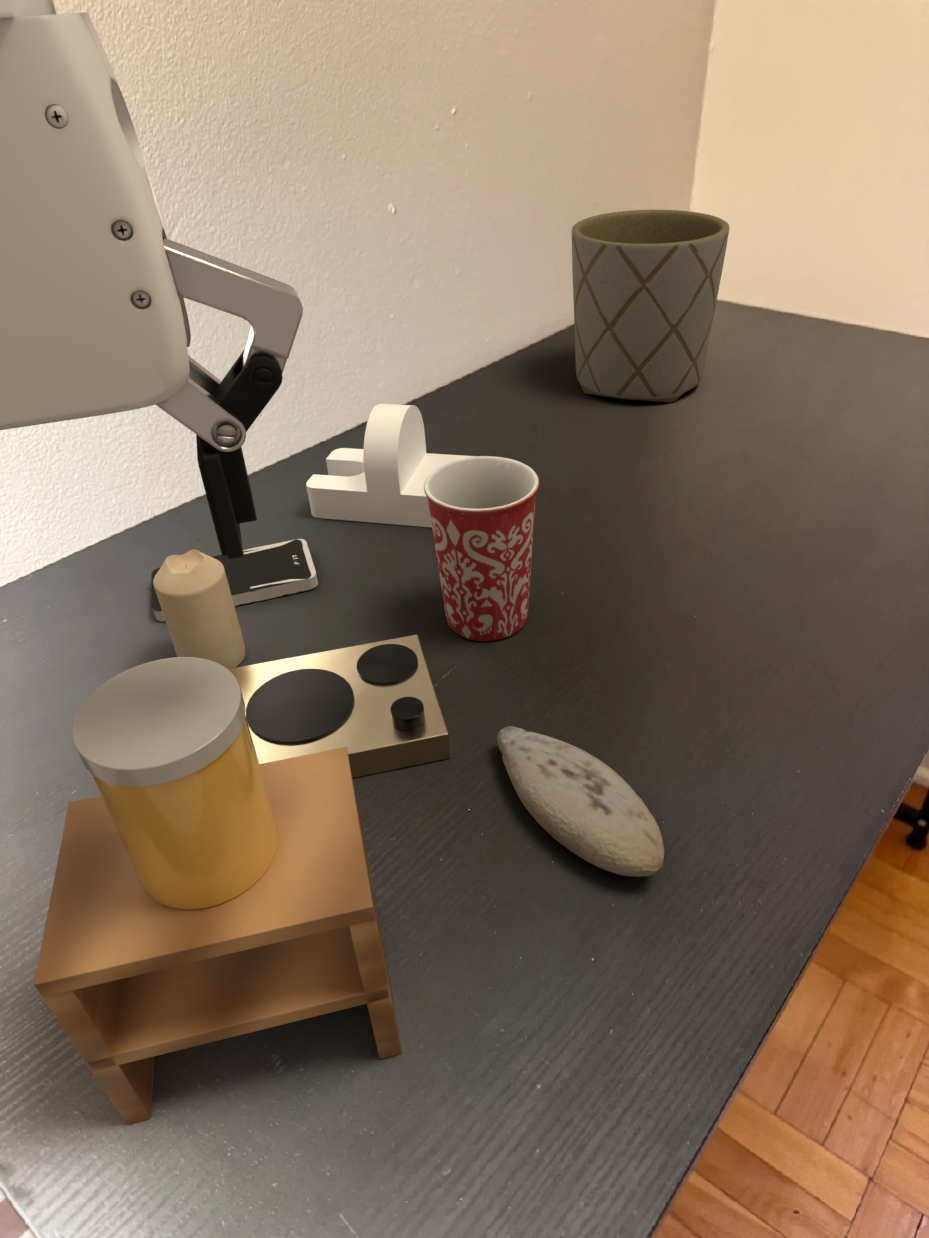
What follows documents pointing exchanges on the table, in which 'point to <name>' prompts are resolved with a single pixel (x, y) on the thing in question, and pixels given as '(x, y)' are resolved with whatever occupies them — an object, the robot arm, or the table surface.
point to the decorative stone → (582, 803)
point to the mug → (483, 543)
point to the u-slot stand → (380, 473)
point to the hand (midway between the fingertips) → (94, 564)
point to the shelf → (215, 938)
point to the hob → (347, 706)
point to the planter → (645, 300)
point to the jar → (180, 779)
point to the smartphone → (262, 573)
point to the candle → (199, 608)
